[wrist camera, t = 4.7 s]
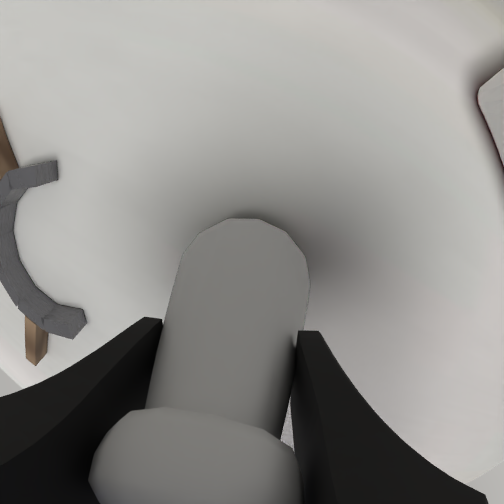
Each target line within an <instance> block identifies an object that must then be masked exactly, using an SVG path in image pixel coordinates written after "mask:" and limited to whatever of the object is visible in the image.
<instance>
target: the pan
mask: <svg viewBox="0 0 504 504" xmlns="http://www.w3.org/2000/svg"><path fill="white" fill-rule="evenodd" d="M477 101H478V106H479V107H480V109H481V111H482V113H483V116H484V118H485V120H486V122H487V125H488V127H489V129H490V132H491V134H492V137H493V139H494V142H495V144H496V147H497V150H498V152H499V155H500V158H501V161H502V164H503V167H504V68H503V69H502V70H500V71H499V72H498V73H497V74H496V75H494V76H493V77H492V78H491V79H490V80H488V81H487V82H486V83H485V84H484V85H482V86H481V87H480V89H479V92H478V96H477Z"/></svg>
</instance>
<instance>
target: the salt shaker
mask: <svg viewBox="0 0 504 504" xmlns="http://www.w3.org/2000/svg"><path fill="white" fill-rule="evenodd" d="M310 286H311V285H310V279H309V273H308V268H307V262H306V258H305V256H304V254H303V253H302V252H301V250H300V249H299V248H298V247H297V245H296V244H295V243H294V241H293V240H292V239H291V238H290V236H289V235H288V234H287V232H285V231H283V230H281V229H279V228H277V227H275V226H273V225H271V224H269V223H267V222H264V221H262V220H260V219H240V218H228V219H226V220H224V221H222V222H220V223H218V224H216V225H214V226H212V227H210V228H208V229H206V230H204V231H202V232H200V233H199V234H198V235H197V237H196V238H195V239H194V240H193V242H192V243H191V244H190V246H189V247H188V248H187V250H186V251H185V252H184V254H183V255H182V258H181V261H180V265H179V268H178V272H177V275H176V279H175V282H174V286H173V290H172V293H171V297H170V301H169V305H168V308H167V312H166V316H165V320H164V324H163V328H162V332H161V336H160V340H159V345H158V349H157V353H156V358H155V362H154V367H153V371H152V376H151V380H150V385H149V390H148V395H147V400H146V405H145V409H143V410H134V411H130V412H129V413H128V414H126V415H125V416H124V417H123V418H122V419H120V420H119V421H118V422H117V423H116V424H115V425H114V426H113V427H112V428H111V429H110V430H109V431H108V432H107V433H106V435H105V436H104V438H103V440H102V441H101V443H100V445H99V446H98V448H97V450H96V451H95V453H94V456H93V460H92V465H91V469H90V473H89V478H88V481H89V484H90V486H91V488H92V490H93V491H94V493H95V495H96V497H97V499H98V501H99V503H100V504H305V498H304V482H303V476H302V473H301V470H300V467H299V464H298V461H297V459H296V456H295V454H294V451H293V449H292V448H291V447H289V446H288V445H286V444H285V443H283V442H282V441H280V438H281V434H282V430H283V426H284V422H285V417H286V413H287V409H288V404H289V400H290V395H291V390H292V386H293V381H294V376H295V371H296V342H297V335H298V330H303V329H304V323H305V317H306V311H307V305H308V299H309V292H310Z"/></svg>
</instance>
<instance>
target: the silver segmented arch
mask: <svg viewBox="0 0 504 504" xmlns="http://www.w3.org/2000/svg"><path fill="white" fill-rule="evenodd" d="M56 180H58V175H57V160H56V161H50V162H44V163H39V164H34V165H29V166H25V167H21V168H17V169H13V170H10V171H8V172H6V173H5V175H4V176H3V178H2V179H1V181H0V281H1V283H2V284H3V286H4V288H5V289H6V291H7V293H8V294H9V296H10V297H11V299H12V301H13V302H14V304H15V305H16V306H17V305H18V309H19V310H20V311H21V312H22V313H24V314H25V315H26V316H27V317H28V318H29V319H30V320H32V321H33V322H34V323H35V324H36V325H38V326H39V327H40V328H41V329H42V330H44V329H45V331H46V332H49V333H52V334H55V335H59V336H62V337H66V338H69V339H74V338H75V336H76V335H77V334H78V333H79V332H80V331H81V329H82V328H83V327H84V326H85V325H86V324H87V322H86V319H85V316H84V313H83V309H78V308H73V307H68V306H63V305H58V304H56V303H55V302H54V301H52V300H51V299H50V298H49V297H47V296H46V295H45V294H44V293H43V292H41V291H40V290H39V289H38V288H36V287H35V285H34V283H33V282H32V280H31V279H30V277H29V275H28V274H27V272H26V270H25V269H24V267H23V265H22V264H21V262H20V260H19V256H18V251H17V247H16V243H15V238H14V233H13V226H14V219H15V212H16V206H17V202H18V200H19V199H20V198H21V196H22V195H23V194H24V193H25V191H26V190H27V189H28V188H30V187H37V186H40V185H43V184H46V183H49V182H52V181H56Z"/></svg>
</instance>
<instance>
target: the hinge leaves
mask: <svg viewBox="0 0 504 504" xmlns="http://www.w3.org/2000/svg"><path fill="white" fill-rule="evenodd" d="M17 168H19V167H18V164H17V162H16V159H15V157H14V154H13V152H12V149H11V147H10V144H9V141H8V139H7V136H6V133H5V130H4V127H3V124H2V121H1V118H0V181H1V179H2V178H3V176H4V175H5V173H6V172H8V171H10V170H13V169H17ZM47 340H48V332H46V331H45V329H44V330H42V329H41V328H40V327H39V326H38V325H36V324H35V323H34V322H33V321H32V320H30V319H29V318H28V317H27V316H26V315H25V348H26V359H28V360H29V361H30V362H31V363H32V364H34V365H35V366H36V365H37V364H38V363H39V362H40V360H41V359H42V358H43V357H44V356H45V355H46V353H47Z"/></svg>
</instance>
